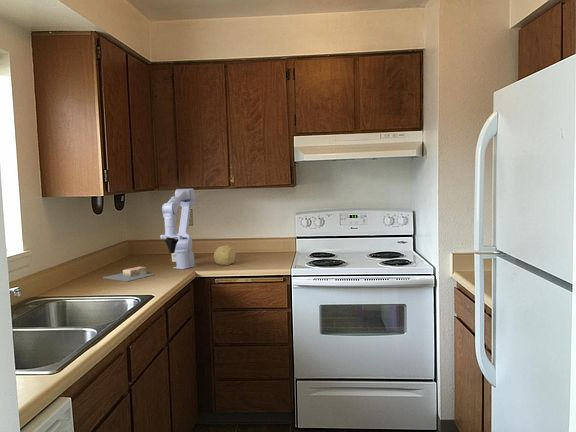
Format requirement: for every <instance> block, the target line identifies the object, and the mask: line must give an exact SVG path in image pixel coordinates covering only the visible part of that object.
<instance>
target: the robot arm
mask: <svg viewBox="0 0 576 432" xmlns="http://www.w3.org/2000/svg"><path fill="white" fill-rule="evenodd" d="M195 199H196V191H195V189H194V188H176V189H175V192H174V196H171V197H170V199H169V200H168V201H167V202H166V203H163V204H162V206H161V211H162V217H163V218H164V234H160V239H161V240H163V239H164V243H165V244H166V247H167V248H168V252H169V254H171V253H175V252H176V262H175V263H176V264H175V265H176V266H173V267H172V268H173V269H176V270H177V269H178V270H179V269H180V270H187V269H189V268H194V267H196V266H197V265H195V263H196V262H195V254H194V252H193V251H192V249H193V237H192V236H191V235H190V234H189V227H190V226H189V225H190V217H191V211H192V206H194V205H195ZM179 207H181V213H180V220H179V227H178V230H177V216H176V214H177V213H178V209H179ZM177 231H178V232H177ZM171 237H173V238H171Z"/></svg>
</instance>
